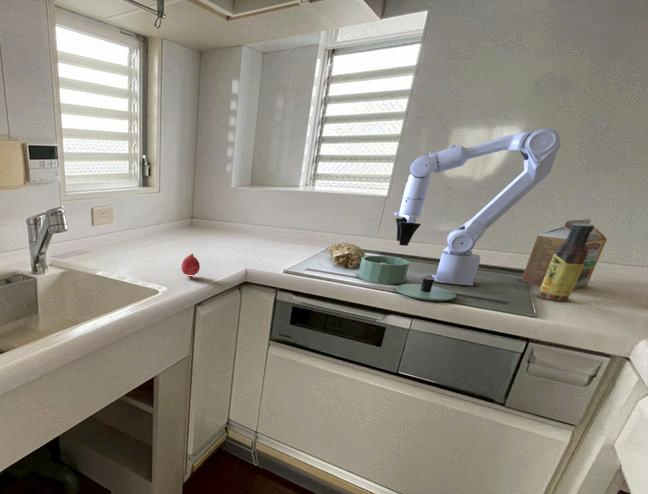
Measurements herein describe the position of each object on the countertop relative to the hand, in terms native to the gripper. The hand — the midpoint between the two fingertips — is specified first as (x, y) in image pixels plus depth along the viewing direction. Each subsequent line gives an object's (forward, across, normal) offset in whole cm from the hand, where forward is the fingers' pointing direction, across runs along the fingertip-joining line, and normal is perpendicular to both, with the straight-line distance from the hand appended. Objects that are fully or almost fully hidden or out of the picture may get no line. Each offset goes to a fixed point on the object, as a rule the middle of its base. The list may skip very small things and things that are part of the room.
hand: (401, 243), depth 128 cm
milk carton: (+10, -7, +43) cm, 45 cm away
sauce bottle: (+10, +11, +37) cm, 40 cm away
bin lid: (+10, +21, +6) cm, 24 cm away
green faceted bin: (+10, +7, -4) cm, 13 cm away
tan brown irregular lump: (+11, -12, -15) cm, 22 cm away
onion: (+12, +30, -60) cm, 69 cm away
